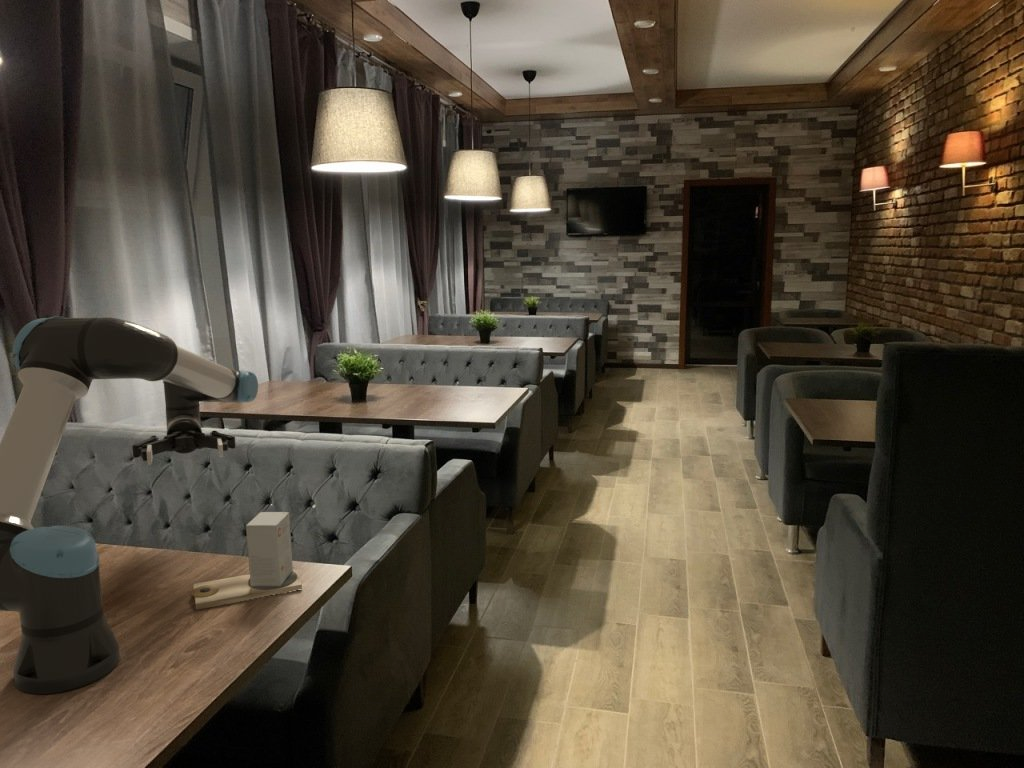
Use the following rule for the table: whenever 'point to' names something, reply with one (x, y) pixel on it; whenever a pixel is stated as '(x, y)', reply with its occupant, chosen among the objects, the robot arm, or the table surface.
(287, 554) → the small box
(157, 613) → the table surface
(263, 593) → the board
